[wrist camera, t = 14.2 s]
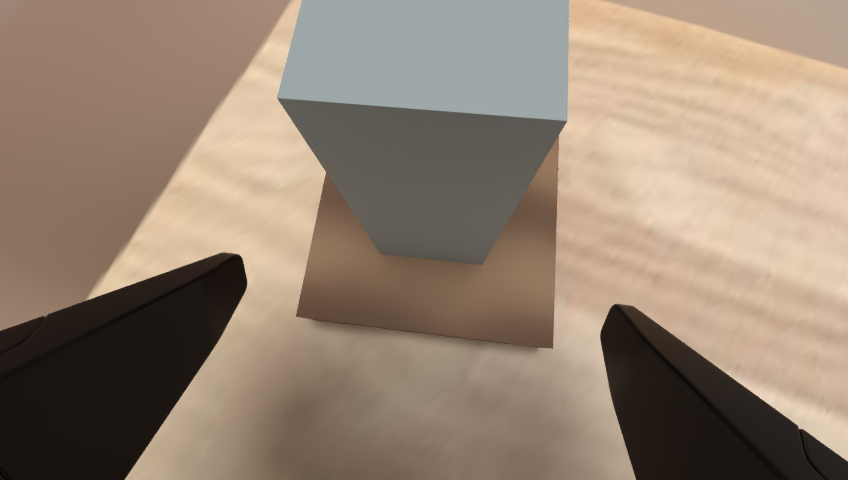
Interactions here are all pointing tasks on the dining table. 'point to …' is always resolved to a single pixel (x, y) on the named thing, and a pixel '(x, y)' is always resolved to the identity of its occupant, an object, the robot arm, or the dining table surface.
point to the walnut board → (440, 275)
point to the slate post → (430, 112)
